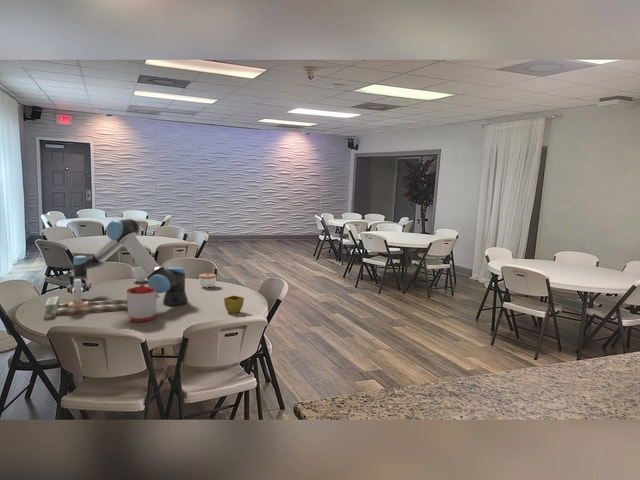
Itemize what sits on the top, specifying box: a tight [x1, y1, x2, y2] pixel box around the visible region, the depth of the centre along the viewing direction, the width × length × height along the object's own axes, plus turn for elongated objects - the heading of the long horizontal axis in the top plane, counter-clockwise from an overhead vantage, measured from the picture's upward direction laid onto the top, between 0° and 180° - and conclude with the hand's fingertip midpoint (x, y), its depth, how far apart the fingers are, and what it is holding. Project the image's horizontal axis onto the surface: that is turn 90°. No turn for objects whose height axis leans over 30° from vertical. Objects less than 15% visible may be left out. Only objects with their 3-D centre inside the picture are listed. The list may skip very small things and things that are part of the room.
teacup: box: [131, 266, 147, 283], centre depth 330 cm, size 12×15×10 cm
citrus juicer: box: [126, 284, 161, 323], centre depth 242 cm, size 16×17×20 cm
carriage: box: [67, 279, 89, 308], centre depth 252 cm, size 10×8×16 cm
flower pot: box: [223, 295, 245, 314], centre depth 262 cm, size 9×9×9 cm
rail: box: [44, 296, 128, 318], centre depth 256 cm, size 48×18×7 cm, turn 116°
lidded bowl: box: [198, 272, 217, 288], centre depth 321 cm, size 13×13×11 cm
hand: (77, 292), depth 247 cm, fingers closed on carriage, 4 cm apart
